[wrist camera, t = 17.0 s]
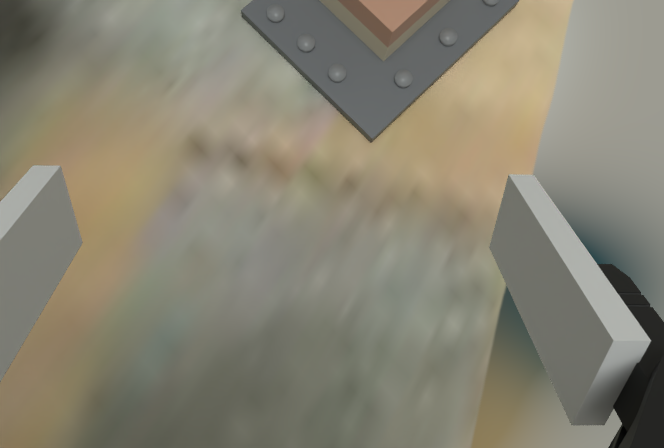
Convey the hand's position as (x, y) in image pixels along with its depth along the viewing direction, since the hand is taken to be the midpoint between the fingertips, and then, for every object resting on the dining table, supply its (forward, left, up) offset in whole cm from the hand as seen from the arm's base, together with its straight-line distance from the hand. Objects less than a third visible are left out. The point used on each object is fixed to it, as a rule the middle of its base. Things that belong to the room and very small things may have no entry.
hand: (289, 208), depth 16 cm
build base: (-13, +23, -30) cm, 40 cm away
